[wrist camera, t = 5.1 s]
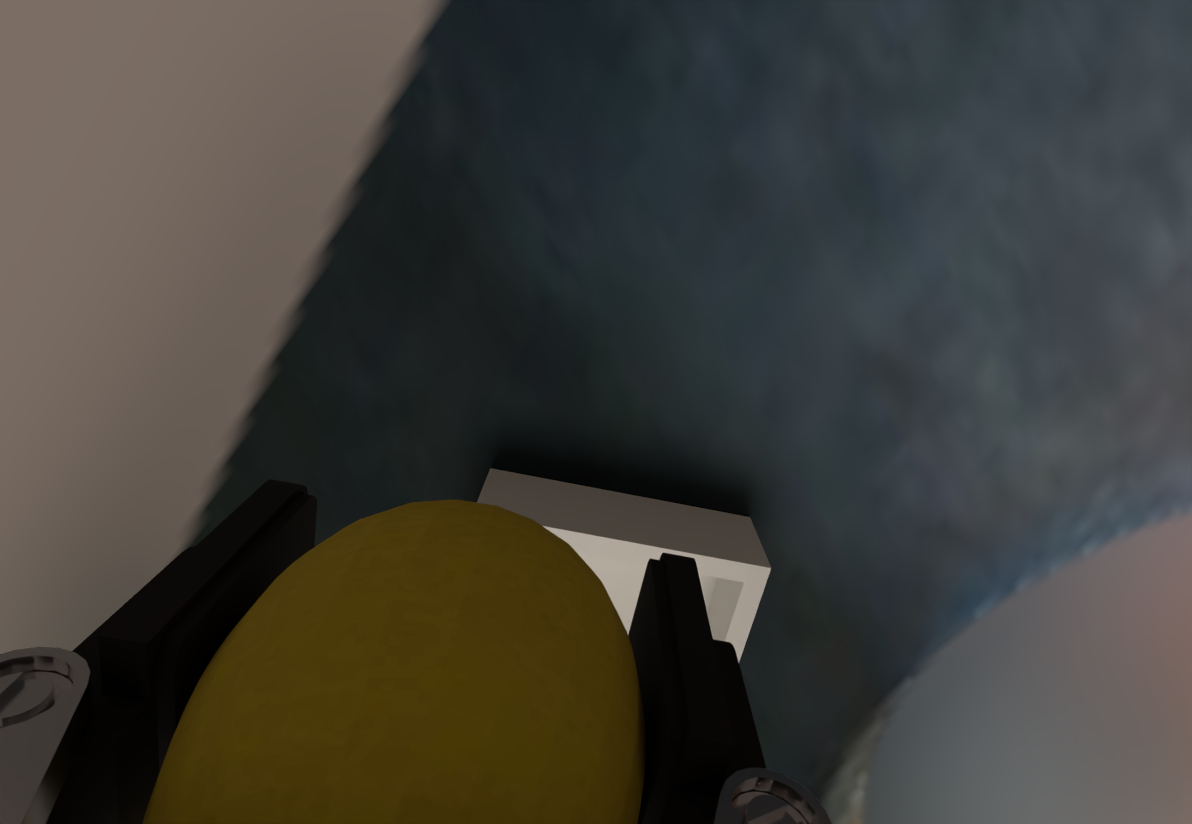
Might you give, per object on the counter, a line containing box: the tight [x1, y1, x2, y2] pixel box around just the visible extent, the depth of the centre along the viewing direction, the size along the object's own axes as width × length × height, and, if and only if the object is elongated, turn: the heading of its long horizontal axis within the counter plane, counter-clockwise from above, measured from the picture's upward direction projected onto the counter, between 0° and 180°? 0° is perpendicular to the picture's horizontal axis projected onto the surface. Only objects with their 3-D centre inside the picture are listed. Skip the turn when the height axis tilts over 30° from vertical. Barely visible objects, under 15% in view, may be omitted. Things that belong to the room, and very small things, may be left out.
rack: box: [477, 468, 771, 662], centre depth 26 cm, size 13×11×9 cm
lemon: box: [143, 500, 646, 824], centre depth 9 cm, size 6×6×8 cm
